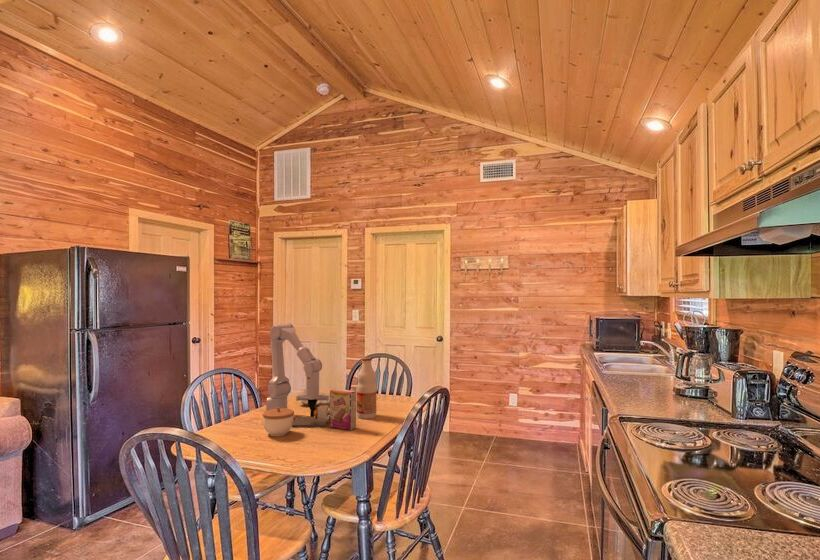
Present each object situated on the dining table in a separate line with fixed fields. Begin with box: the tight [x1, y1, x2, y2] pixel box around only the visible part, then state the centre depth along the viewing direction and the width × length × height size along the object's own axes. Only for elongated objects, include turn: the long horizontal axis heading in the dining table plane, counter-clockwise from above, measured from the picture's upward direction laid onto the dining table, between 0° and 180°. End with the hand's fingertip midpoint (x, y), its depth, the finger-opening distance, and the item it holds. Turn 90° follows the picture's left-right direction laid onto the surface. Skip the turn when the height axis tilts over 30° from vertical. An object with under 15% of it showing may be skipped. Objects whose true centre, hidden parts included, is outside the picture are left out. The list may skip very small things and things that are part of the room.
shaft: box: [314, 406, 330, 418], centre depth 212 cm, size 9×5×5 cm, turn 91°
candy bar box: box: [329, 388, 357, 432], centre depth 204 cm, size 11×5×16 cm, turn 65°
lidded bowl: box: [262, 407, 295, 437], centre depth 196 cm, size 13×13×11 cm
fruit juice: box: [356, 356, 377, 420], centre depth 222 cm, size 9×9×28 cm
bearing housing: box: [291, 406, 330, 428], centre depth 212 cm, size 15×14×7 cm
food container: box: [297, 389, 330, 408], centre depth 243 cm, size 12×30×6 cm, turn 79°
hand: (312, 416), depth 212 cm, fingers closed
